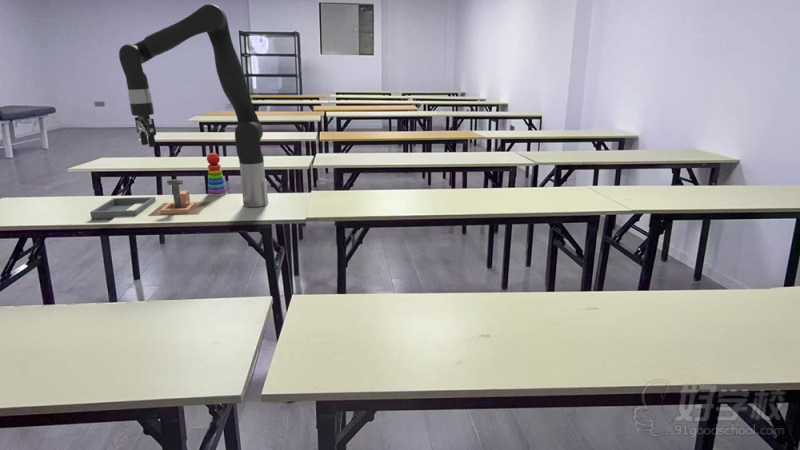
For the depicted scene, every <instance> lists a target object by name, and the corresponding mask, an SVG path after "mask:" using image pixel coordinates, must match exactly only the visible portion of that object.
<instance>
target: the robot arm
mask: <svg viewBox="0 0 800 450" xmlns="http://www.w3.org/2000/svg"><path fill="white" fill-rule="evenodd" d="M226 15H227V14H226V13H225V11H224V10H223V9H222V8H220V7H219V6H218V5H216V4H212V3H207V4H204V5H202V6H201V7H200V8H198V9H197V10H195V11H194V12H193V13H191V14H189V15H188V16H187V17H185V18H183V19H181V20H179V21H178V22H176V23H174V24H171V25H169V26H167V27H164V28H162V29H160V30H158V31H156V32H154V33H151V34H149V35H147V36H145V37H144V38H143V40H140V41H139V42H136V43H133V44H123V45H122V46H120V48H119V52H118V57H119V63H120V65H121V69H122V71H123V73H124V75H125V80H126V87H127V91H128V93H127V94H128V96H127V97H128V102H129V106H130V112H131V115H132V116H135V117H134V122H135V128H136V132H137V133H138V135H139V136H140V143H141V145H142V146H147V145H148V147H149V148H154V147H156V146H157V145H156V139H155V137H156V135H157V130H156V125H155V121H154V118H151V117H150V115H154V114H155V111H154V104H153V99H152V94H151V91H150V86H149V81H148V76H147V74H146V73H145V72H144V69H143V65H142V64H145V63H146V62H149V61H150V60H152V59H153V58H154V57H156V56H159V55H161V54H164V53H166V52H169V51H171V50H172V49H174V48H176V47H177V46H179V45H181V44H182V43H184V42H185V41H186V40H189V39H191V38H193V37H194V36H195V37H196V36H198V35H201V34H204V33H206V34H207V35H208V38H209V41H210V43H211V47H212V49H213V54H214V62H215V63H214V64H215V70H216V73H217V76H218V80H219V83H220V85H221V88H222V91H223V92H224V95H225V97H227V100H228V101H229V103H230V104H231V106H232V108H233V110H234V113H235V116H236V119H237V123H238V124H237V125H236V127H235V129H234V141H235V149H236V154H237V157H238V162H239V171H240V183H241V193H242V202H243V203H242V204H243V206H244V207H247V208H258V207H266V206H267V205H268V203H269V197H268V196H269V195H268V186H267V179H266V174H265V161H264V159H265V158H264V155H263V153H262V149H261V139H262V137H263V135H264V130H263V126H262V124H261V122H260V119H259V117H258V115H257V113H256V110H255V108H254V105H253V101H252V97H251V93H250V90H249V86H248V83H247V79H246V76H245V74H244V73H245V72H244V71H243V67H242V65H241V61H240V58H239V56H238V54H237V51H236V49H235V46H234V45H233V41H232V36H231V32H230V27H229V23H228V18H227V16H226Z"/></svg>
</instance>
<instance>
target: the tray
mask: <svg viewBox="0 0 800 450" xmlns="http://www.w3.org/2000/svg"><path fill="white" fill-rule="evenodd" d="M155 202H157V200H156V196H145V197H144V196H143V197H141V196H140V197H138V196H137V197H113V198H111V199H110V200H108V201H106V202H104V203H102V204H101V205H100V206H98V207H96V208H95V209H93V210H91V211H90V212H89V213H90V217H91V218H90V219H91V221H102V220H105V221H106V220H114V219H116V218H117V217H133V216H134V217H135V216H138V215H140V214H141V213H142V212H144V211H145V210H146V209H148V208H149V207H151V206H152V205H153V204H155ZM137 203H138V204H139V203H142V204H140V206H138V207H136V208H135V209H130V210H128V209H129V208H131V207H132V206H134V205H135V204H137Z"/></svg>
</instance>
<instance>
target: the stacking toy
mask: <svg viewBox="0 0 800 450" xmlns="http://www.w3.org/2000/svg"><path fill="white" fill-rule="evenodd" d="M220 160H221V157H220V156H219V154H218V153H216V152H210V153H209V154H208V155H207V156H206V162H207V163H208V165H207V169H208V171H207V173H208V174H207V179H208V180H207V182H208V183H207V187H208V189H207V192H208V193H207V195H208V196H209V197H221V196H225V195H228V192H227V190H228V188H227V186H226V183H225V178H224V175H223V170H222V168H221V164H220Z"/></svg>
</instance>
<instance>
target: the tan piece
mask: <svg viewBox="0 0 800 450" xmlns="http://www.w3.org/2000/svg"><path fill="white" fill-rule="evenodd" d="M180 197H181V204H182V207H187V208H186V209H170V208H172V207H175V204H174V202H167V203H168V204H167V205H166V206H165V207H163V208H162V209H161V210H160V213H161V214H179V213H189V212H190V211H191V210H192V209H193V208H194V207H195V206H196V202H197V201H191V199H190V191H189V190H180Z"/></svg>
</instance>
